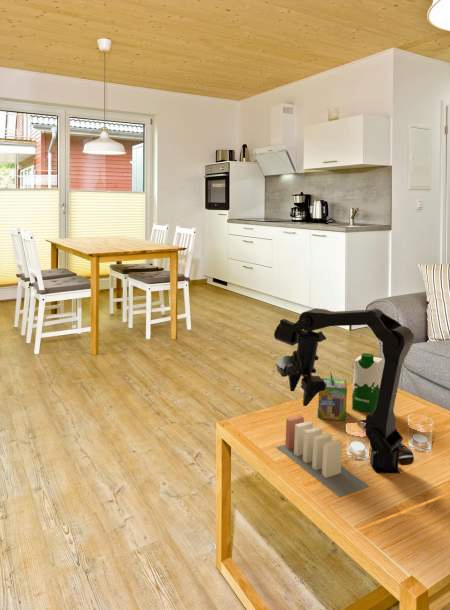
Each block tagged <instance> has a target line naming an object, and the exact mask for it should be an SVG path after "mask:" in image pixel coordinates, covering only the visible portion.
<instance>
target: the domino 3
mask: <svg viewBox="0 0 450 610" xmlns="http://www.w3.org/2000/svg"><path fill="white" fill-rule="evenodd" d="M319 435H323V429H322V428H321V427H319V426H317V427H313V428H312V429H308V430H304V444H303V461H304V462H306V463H308V462H311V461H312V459H313V441H314V437H315V436H319Z"/></svg>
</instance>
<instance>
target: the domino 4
mask: <svg viewBox="0 0 450 610" xmlns="http://www.w3.org/2000/svg"><path fill="white" fill-rule="evenodd" d="M332 441H333V435H332V434H330V433H329V432H327V433H322V435H319V436H315V437H314V441H313V459H312V468H313V469H315V470H318V469H321V468H322V464H323V447H324V443H328V442H332Z"/></svg>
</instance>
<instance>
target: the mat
mask: <svg viewBox="0 0 450 610" xmlns="http://www.w3.org/2000/svg"><path fill="white" fill-rule="evenodd" d="M275 447H276V449H278V451H280V452H281V453H283V454H284V455H285V456H286V457H288V459H290V460H291V461H292V462H293V463H295V464H296V465H298V466H299V467H301V468H302V469H303V470H304V471H306V472H307V473H308V474H309V475H311V476H312V477H314V479H316V480H317V481H318V482H320V483H321V484H322V485H324V486H325V487H326V488H327V489H328V490H330V491H332V492H333V493H334V494H335V495H337V496H338V497H339V498H342V497H343V496H347V495H349V494H353V493H356V492H358V491H362V490H364V489H368V488H370V487H371V486H370V485H369V484H368V483H366V482H364V481H363V480H362V479H360V478H359V477H358V476H356V475H355V474H353V473H352V472H350V471H349V470H347V469H346V468H344V467H343V466H342V465H341V473H339V474H336V475H333V476H330V477H327V478H325V477H324V476H323V475H322V468H321V469H318V470H315V469H313V468H312V461H311V462H308V463H306V462H304V461H303V455H299V456H296V455H295V454H294V448H292V449H289V450H288V449H287V448H286V447H285V444H283V445H279V446H275Z"/></svg>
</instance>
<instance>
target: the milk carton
mask: <svg viewBox="0 0 450 610" xmlns="http://www.w3.org/2000/svg"><path fill="white" fill-rule="evenodd" d="M383 360H384V357H383V358H381V357H376V356H374V355H373V353H367V352H365V353H362V354H361V355H359V356H358V357H357V358H356V359H354V364H353V365H354V366H353V380H352V396H351V398H352V400H351V409H352V410H354V411H359V412H364V413H366V414H369V413H370V412H371V411H373V410H374V409H375V408H376V405H377V400H378V394H379V389H380V384H381V378H382V373H383Z"/></svg>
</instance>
